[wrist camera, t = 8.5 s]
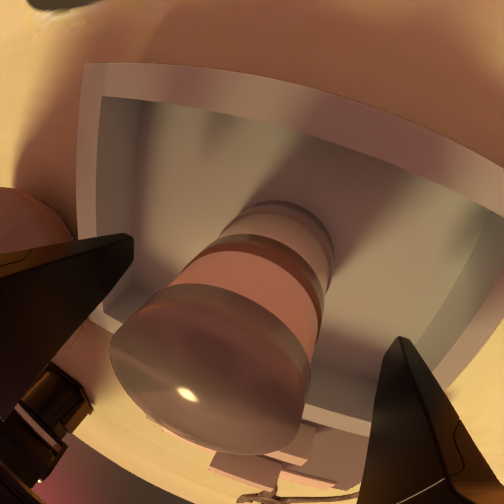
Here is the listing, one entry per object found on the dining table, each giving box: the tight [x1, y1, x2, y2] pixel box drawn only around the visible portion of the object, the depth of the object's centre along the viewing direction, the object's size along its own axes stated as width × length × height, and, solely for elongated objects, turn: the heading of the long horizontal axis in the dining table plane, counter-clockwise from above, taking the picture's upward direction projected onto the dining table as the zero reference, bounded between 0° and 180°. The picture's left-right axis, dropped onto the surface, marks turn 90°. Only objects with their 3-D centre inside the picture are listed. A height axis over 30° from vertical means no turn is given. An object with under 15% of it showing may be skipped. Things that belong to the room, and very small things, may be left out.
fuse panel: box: [146, 414, 369, 492], centre depth 16 cm, size 16×9×4 cm, turn 78°
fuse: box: [110, 200, 334, 455], centre depth 9 cm, size 4×4×7 cm
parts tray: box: [76, 62, 504, 437], centre depth 11 cm, size 16×12×3 cm
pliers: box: [236, 486, 359, 504], centre depth 24 cm, size 10×1×20 cm
